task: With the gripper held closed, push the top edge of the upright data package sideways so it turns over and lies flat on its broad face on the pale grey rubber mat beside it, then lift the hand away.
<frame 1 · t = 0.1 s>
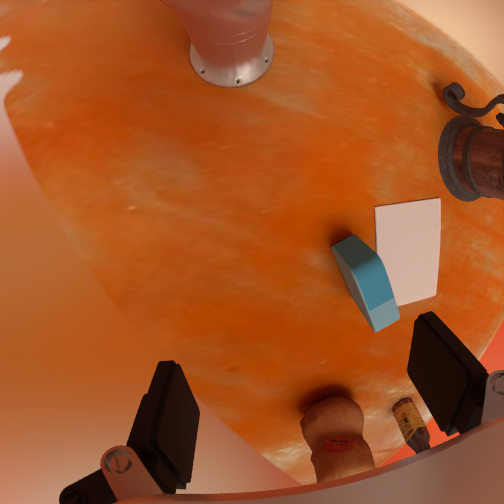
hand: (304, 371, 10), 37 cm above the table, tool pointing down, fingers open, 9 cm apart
data package: (352, 266, 49), on the table
tankard: (462, 143, 42), on the table
butternut squash: (326, 403, 61), on the table
sauce bottle: (401, 405, 63), on the table
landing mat: (409, 255, 49), on the table
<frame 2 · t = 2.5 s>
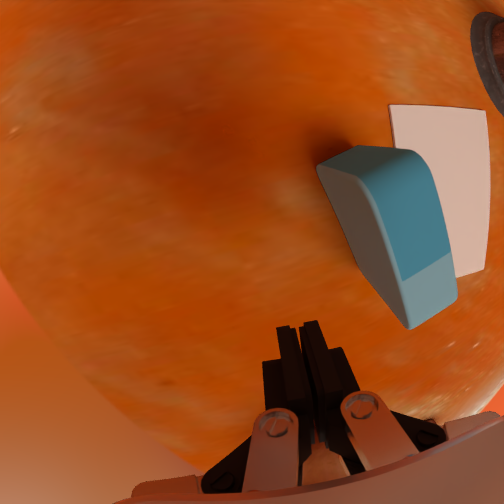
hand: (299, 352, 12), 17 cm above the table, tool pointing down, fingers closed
data package: (357, 210, 27), on the table
tankard: (499, 46, 19), on the table
butternut squash: (316, 432, 39), on the table
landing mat: (449, 197, 27), on the table
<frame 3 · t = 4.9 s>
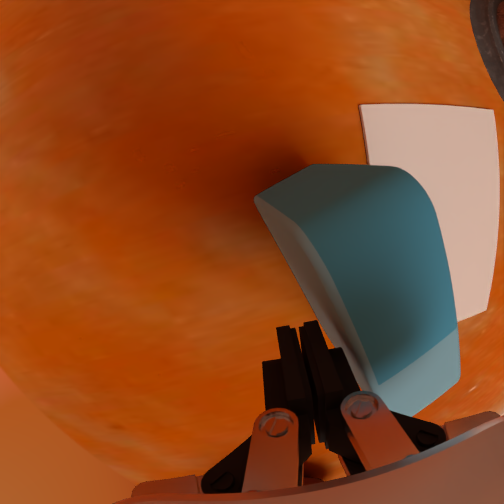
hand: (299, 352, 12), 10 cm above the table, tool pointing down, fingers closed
data package: (317, 252, 21), on the table
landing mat: (445, 227, 21), on the table
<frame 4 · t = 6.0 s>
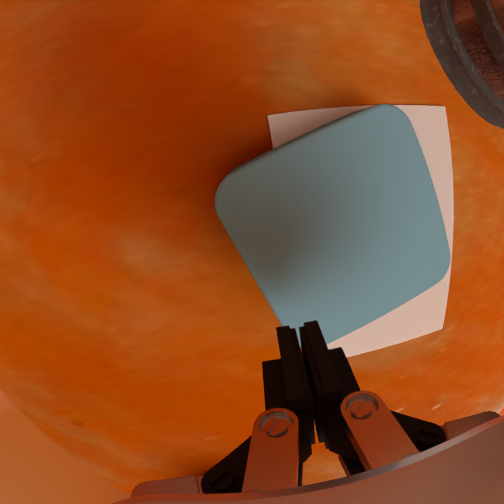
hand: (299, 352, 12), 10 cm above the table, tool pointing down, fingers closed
data package: (253, 271, 18), point 3 cm above the table, touching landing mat
tankard: (469, 16, 14), on the table
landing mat: (380, 241, 21), on the table
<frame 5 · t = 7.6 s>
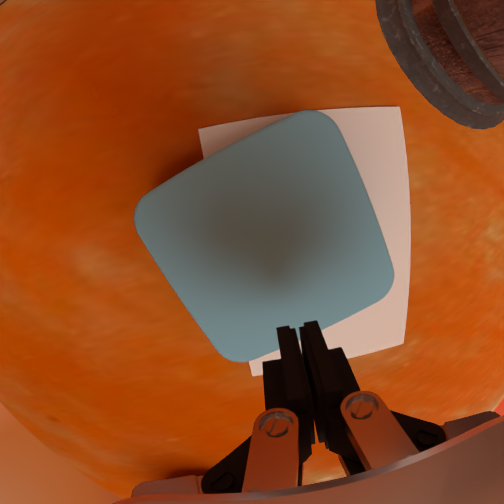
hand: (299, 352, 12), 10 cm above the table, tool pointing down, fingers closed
data package: (183, 284, 19), point 3 cm above the table, touching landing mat
tankard: (436, 8, 14), on the table
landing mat: (324, 253, 21), on the table
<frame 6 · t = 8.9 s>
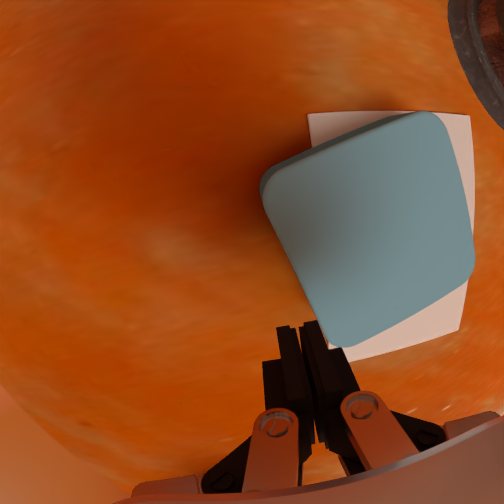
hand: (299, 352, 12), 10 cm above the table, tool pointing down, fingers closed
data package: (291, 269, 18), point 3 cm above the table, touching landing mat
tankard: (490, 30, 14), on the table
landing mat: (408, 243, 21), on the table
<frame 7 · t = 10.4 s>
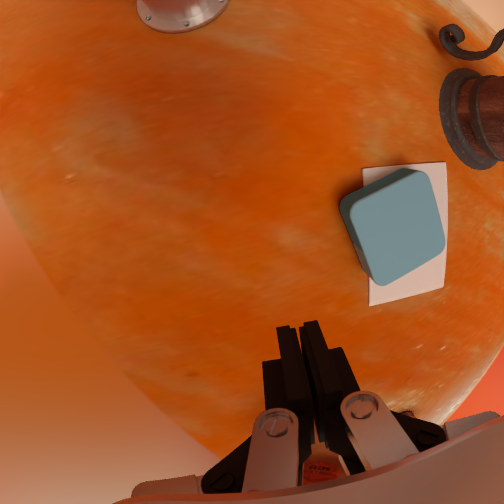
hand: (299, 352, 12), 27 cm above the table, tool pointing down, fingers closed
data package: (356, 246, 36), point 3 cm above the table, touching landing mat
tankard: (467, 100, 31), on the table
butternut squash: (310, 417, 50), on the table
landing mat: (410, 234, 38), on the table
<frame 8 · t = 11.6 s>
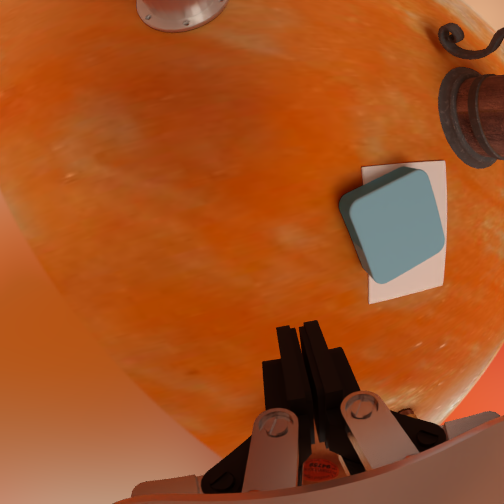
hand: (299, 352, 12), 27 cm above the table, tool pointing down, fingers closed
data package: (355, 244, 36), point 3 cm above the table, touching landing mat
tankard: (466, 98, 31), on the table
butternut squash: (310, 415, 50), on the table
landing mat: (409, 232, 38), on the table
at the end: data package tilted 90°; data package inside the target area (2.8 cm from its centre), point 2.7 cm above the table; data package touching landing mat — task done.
